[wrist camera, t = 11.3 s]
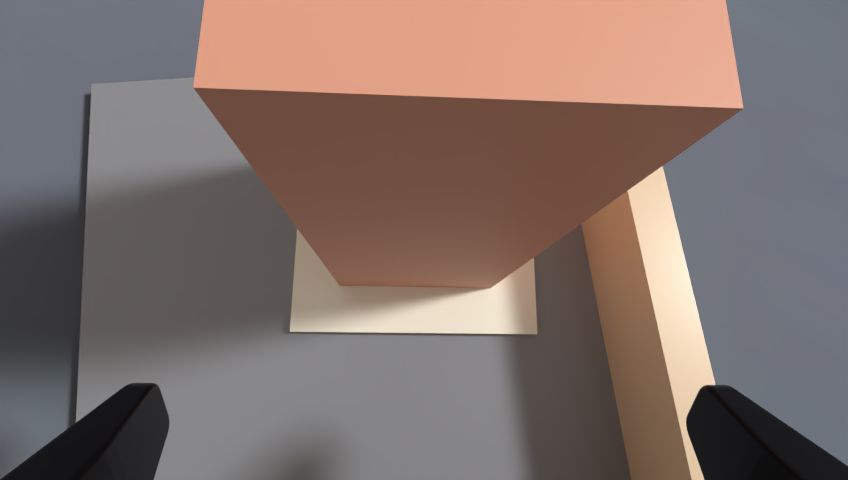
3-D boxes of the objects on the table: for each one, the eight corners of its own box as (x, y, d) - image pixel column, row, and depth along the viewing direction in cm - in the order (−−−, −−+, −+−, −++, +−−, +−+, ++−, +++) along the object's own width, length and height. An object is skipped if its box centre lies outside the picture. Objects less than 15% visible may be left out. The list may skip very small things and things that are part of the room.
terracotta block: (491, 288, 16) (743, 108, 5) (339, 285, 16) (193, 87, 4) (487, 148, 17) (679, -278, 6) (346, 144, 17) (246, -316, 5)
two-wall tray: (678, 565, 15) (776, 636, 11) (75, 663, 14) (-50, 784, 10) (573, 59, 19) (618, -15, 15) (99, 91, 18) (17, 17, 14)
